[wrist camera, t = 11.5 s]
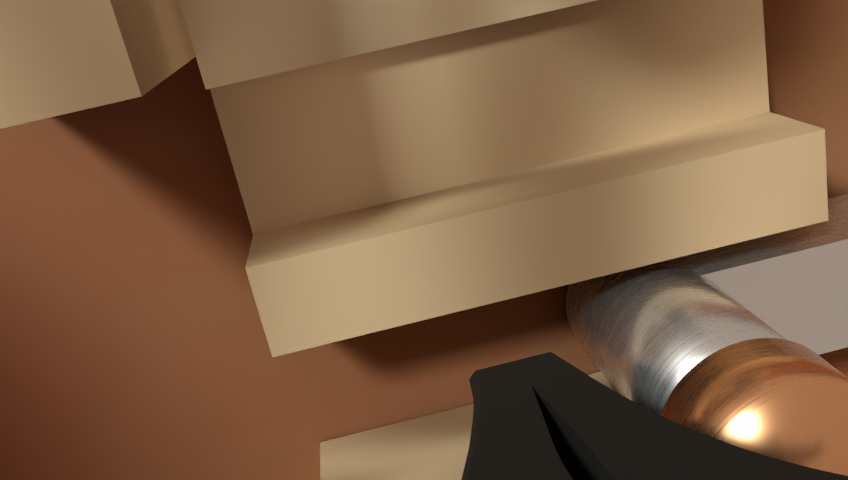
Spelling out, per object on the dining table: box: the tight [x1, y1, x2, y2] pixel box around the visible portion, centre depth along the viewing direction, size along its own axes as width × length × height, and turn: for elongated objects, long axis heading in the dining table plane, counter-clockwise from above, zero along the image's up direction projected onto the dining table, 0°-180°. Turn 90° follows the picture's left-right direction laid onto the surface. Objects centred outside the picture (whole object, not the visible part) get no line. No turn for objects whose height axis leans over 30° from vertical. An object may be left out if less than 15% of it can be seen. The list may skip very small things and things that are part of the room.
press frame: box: [0, 0, 828, 480], centre depth 11 cm, size 12×18×5 cm
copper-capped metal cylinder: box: [566, 194, 848, 476], centre depth 13 cm, size 7×3×6 cm, turn 102°
